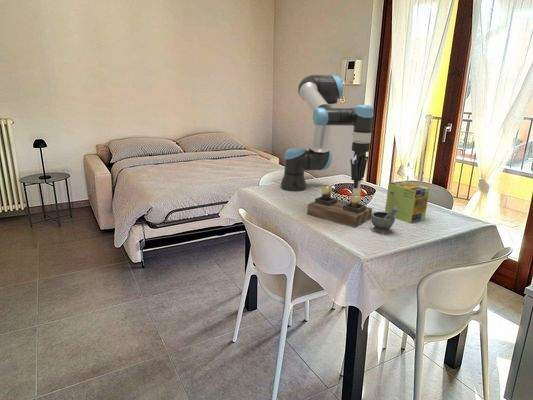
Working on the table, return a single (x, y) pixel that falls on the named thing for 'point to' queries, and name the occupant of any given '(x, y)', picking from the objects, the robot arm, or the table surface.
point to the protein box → (407, 200)
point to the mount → (339, 211)
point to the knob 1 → (326, 191)
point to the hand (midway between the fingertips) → (356, 194)
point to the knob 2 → (355, 200)
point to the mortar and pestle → (383, 220)
